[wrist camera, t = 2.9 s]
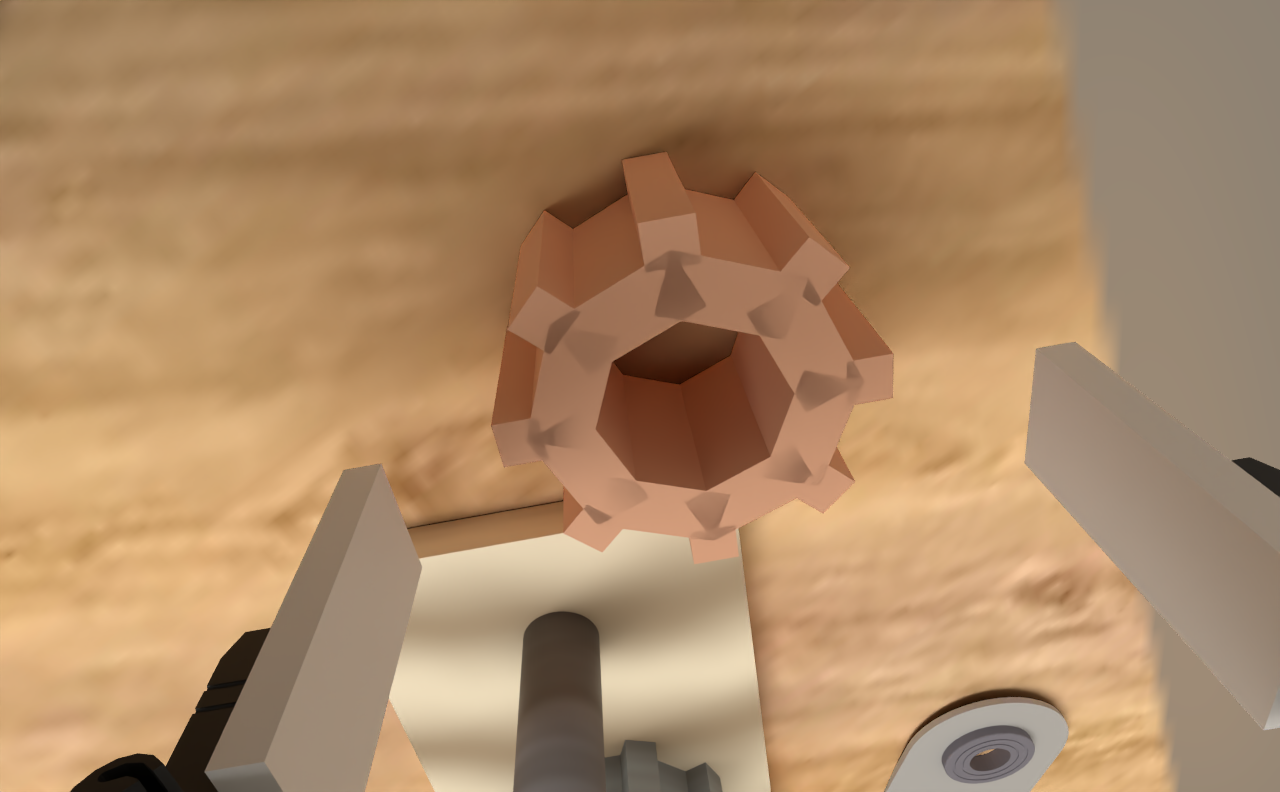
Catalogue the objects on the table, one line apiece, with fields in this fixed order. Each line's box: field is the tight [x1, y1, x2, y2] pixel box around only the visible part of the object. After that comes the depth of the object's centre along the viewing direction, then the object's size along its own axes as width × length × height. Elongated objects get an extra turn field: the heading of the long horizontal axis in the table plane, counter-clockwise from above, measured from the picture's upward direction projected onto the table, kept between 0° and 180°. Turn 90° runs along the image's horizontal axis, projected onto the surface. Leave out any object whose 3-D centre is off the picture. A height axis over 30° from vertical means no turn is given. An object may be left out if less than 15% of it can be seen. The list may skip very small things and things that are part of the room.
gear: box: [491, 152, 893, 564], centre depth 19 cm, size 8×8×5 cm
